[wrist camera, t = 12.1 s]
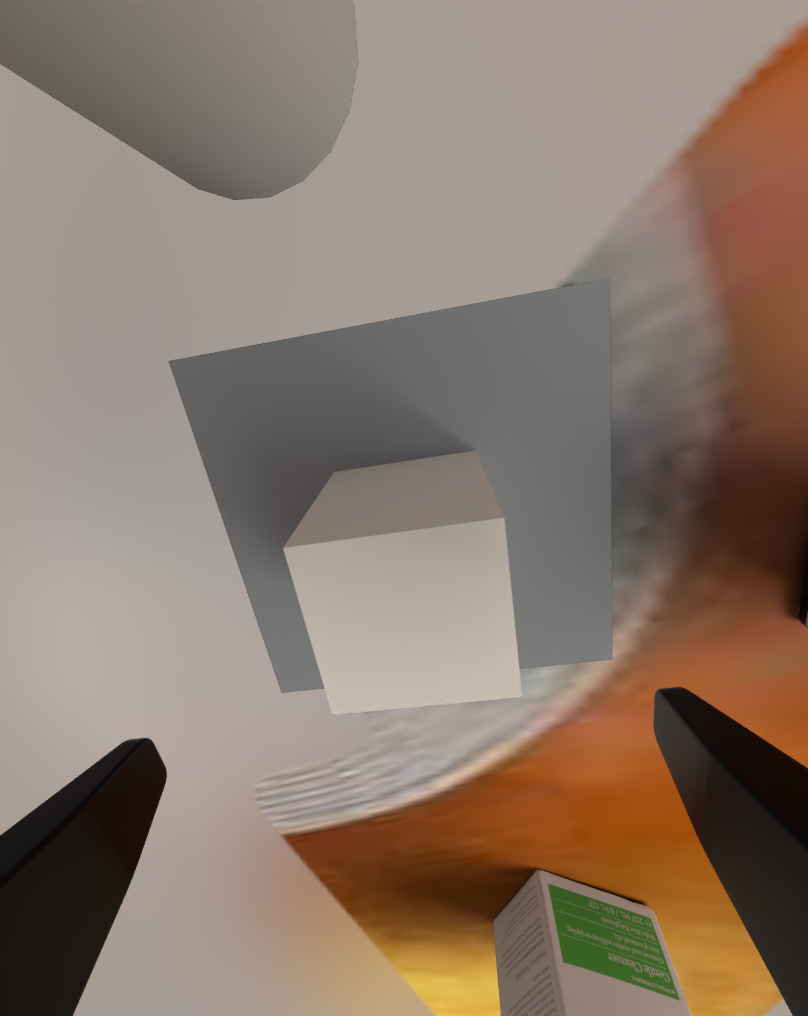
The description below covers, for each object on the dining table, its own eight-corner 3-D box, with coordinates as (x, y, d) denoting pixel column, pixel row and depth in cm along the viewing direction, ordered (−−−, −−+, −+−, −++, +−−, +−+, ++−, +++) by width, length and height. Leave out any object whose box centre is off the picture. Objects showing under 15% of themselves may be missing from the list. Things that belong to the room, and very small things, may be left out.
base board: (582, 286, 15) (609, 278, 13) (591, 622, 20) (612, 659, 18) (204, 357, 17) (168, 361, 15) (297, 654, 22) (281, 692, 20)
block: (476, 450, 15) (504, 517, 10) (490, 577, 17) (522, 696, 11) (333, 471, 16) (283, 547, 10) (362, 593, 18) (332, 714, 12)
